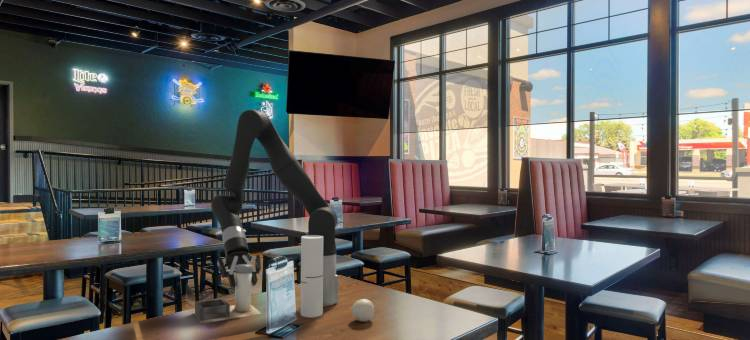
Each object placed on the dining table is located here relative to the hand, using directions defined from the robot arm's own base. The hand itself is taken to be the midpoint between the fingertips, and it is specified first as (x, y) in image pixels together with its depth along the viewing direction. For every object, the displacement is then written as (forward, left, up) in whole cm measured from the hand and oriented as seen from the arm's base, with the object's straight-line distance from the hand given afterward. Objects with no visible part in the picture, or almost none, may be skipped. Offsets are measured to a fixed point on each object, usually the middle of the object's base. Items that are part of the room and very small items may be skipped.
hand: (244, 285), depth 146 cm
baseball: (-30, +22, -10) cm, 39 cm away
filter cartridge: (0, -2, -8) cm, 8 cm away
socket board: (+5, -2, -10) cm, 11 cm away
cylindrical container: (-19, +8, -10) cm, 23 cm away
